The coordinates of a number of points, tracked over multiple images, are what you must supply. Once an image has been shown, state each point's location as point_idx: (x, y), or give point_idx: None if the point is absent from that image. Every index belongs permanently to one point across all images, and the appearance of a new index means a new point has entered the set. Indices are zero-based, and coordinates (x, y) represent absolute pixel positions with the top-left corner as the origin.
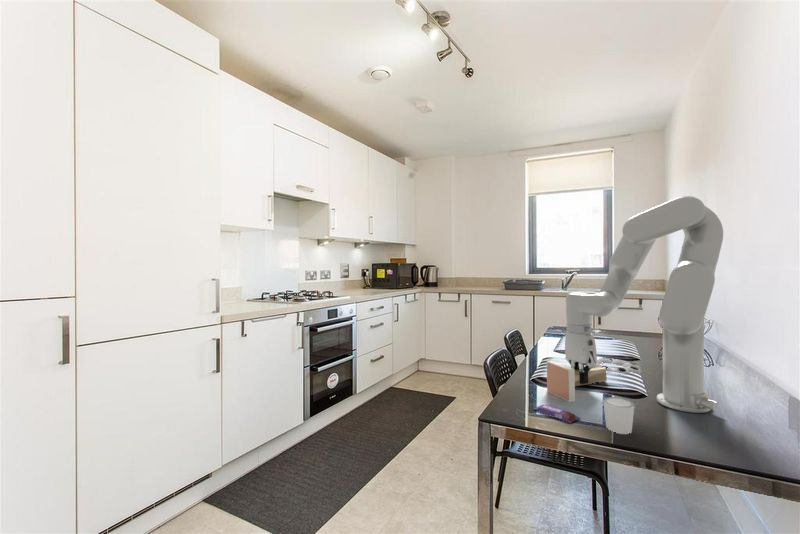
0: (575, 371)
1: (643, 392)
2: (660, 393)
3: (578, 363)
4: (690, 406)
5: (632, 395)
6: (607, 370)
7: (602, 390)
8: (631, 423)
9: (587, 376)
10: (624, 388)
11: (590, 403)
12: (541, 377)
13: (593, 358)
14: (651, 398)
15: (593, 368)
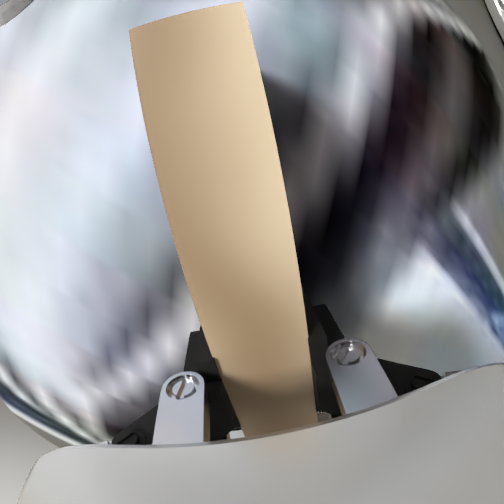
0: (281, 425)
1: (443, 11)
2: (501, 13)
3: (207, 433)
4: None
5: (476, 105)
6: None
7: (392, 218)
8: None
9: (336, 327)
10: (383, 40)
11: (462, 361)
12: (109, 426)
13: (484, 417)
14: (500, 61)
15: (203, 178)
